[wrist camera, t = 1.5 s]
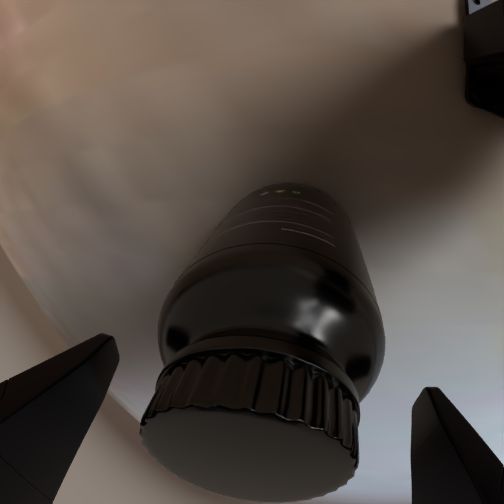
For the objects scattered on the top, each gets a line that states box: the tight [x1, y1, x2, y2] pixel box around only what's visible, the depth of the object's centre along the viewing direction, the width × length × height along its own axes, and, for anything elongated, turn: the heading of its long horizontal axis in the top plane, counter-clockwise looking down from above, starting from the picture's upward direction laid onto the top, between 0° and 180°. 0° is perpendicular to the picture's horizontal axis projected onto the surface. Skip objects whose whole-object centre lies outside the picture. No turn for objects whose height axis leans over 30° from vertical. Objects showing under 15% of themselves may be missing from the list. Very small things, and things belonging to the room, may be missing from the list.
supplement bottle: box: [139, 183, 385, 503], centre depth 11 cm, size 7×7×12 cm
